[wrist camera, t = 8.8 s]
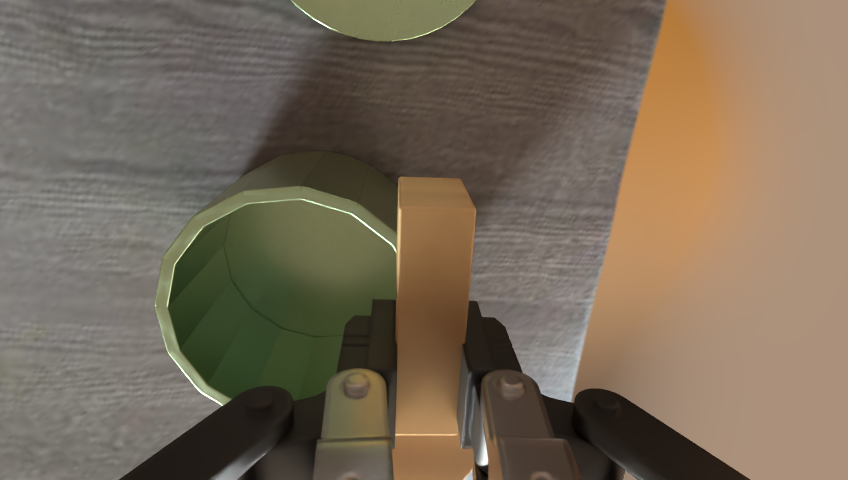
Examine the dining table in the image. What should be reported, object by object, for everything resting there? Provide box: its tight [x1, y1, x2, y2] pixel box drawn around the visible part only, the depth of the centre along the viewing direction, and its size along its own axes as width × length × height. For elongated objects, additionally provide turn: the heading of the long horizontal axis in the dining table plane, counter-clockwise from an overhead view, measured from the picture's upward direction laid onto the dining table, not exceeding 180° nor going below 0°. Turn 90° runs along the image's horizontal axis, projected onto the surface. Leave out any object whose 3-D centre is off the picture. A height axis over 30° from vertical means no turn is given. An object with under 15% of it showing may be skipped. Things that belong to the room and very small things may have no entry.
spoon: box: [392, 177, 476, 480], centre depth 14 cm, size 10×4×3 cm, turn 177°
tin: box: [154, 151, 398, 406], centre depth 32 cm, size 14×14×10 cm
